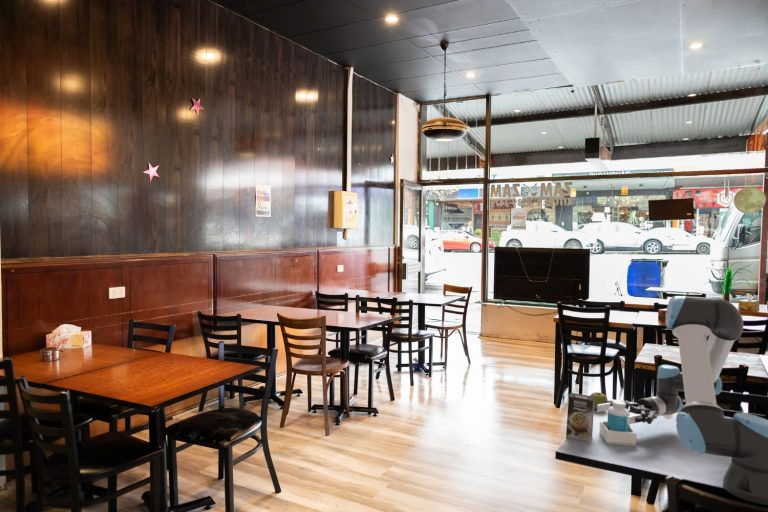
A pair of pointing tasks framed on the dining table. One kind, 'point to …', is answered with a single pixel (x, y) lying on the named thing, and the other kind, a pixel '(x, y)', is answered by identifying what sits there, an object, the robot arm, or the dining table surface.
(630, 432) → the holder
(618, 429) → the pill bottle
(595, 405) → the apple
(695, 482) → the dining table surface
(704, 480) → the dining table surface
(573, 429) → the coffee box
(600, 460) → the dining table surface
